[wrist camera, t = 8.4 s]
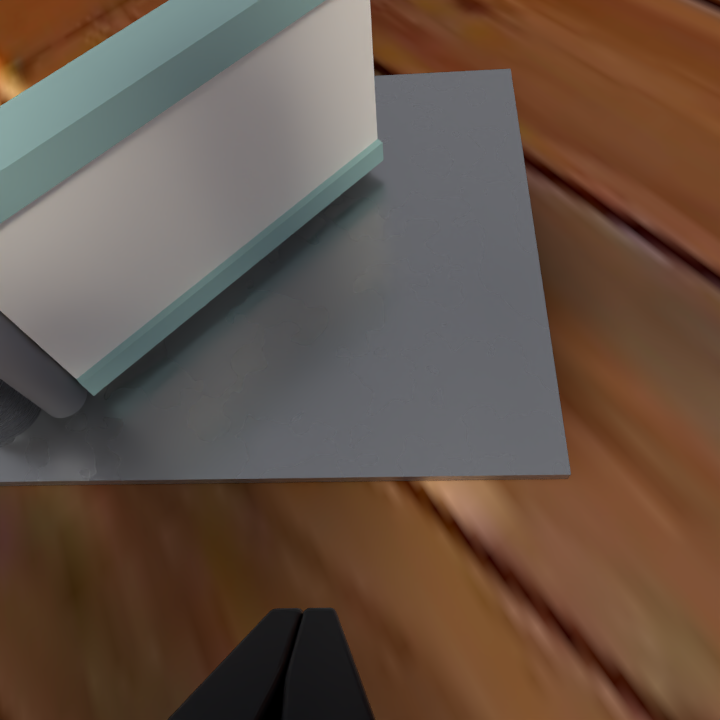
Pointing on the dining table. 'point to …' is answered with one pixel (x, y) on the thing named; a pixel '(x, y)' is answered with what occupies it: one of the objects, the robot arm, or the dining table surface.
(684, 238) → the dining table surface
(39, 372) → the gate
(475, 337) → the gate post
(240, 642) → the robot arm
